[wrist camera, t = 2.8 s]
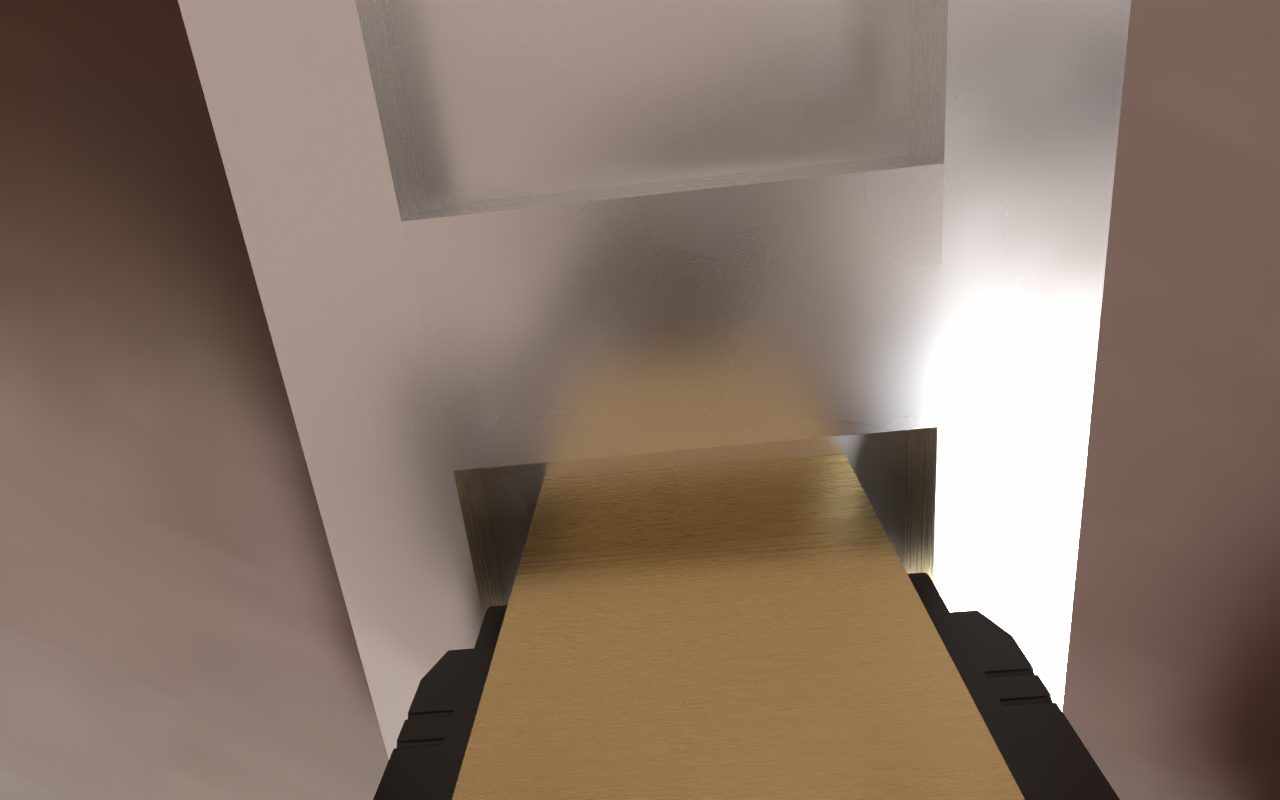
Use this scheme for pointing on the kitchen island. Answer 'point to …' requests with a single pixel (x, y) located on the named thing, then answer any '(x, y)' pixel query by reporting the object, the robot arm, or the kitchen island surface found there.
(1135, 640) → the kitchen island surface
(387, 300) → the white compartment tray
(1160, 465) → the kitchen island surface
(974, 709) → the brass block
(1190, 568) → the kitchen island surface
